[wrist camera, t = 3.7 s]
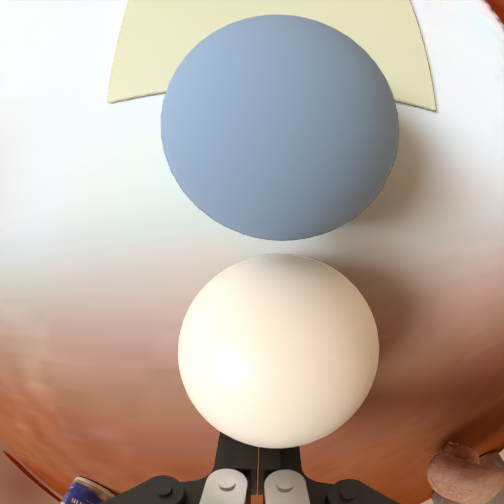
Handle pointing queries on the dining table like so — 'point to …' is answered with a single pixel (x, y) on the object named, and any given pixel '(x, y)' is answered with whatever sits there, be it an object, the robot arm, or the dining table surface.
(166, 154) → the blue ball
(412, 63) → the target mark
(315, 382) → the cue ball
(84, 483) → the pill bottle
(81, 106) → the dining table surface
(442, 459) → the mushroom
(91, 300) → the dining table surface
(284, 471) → the robot arm
